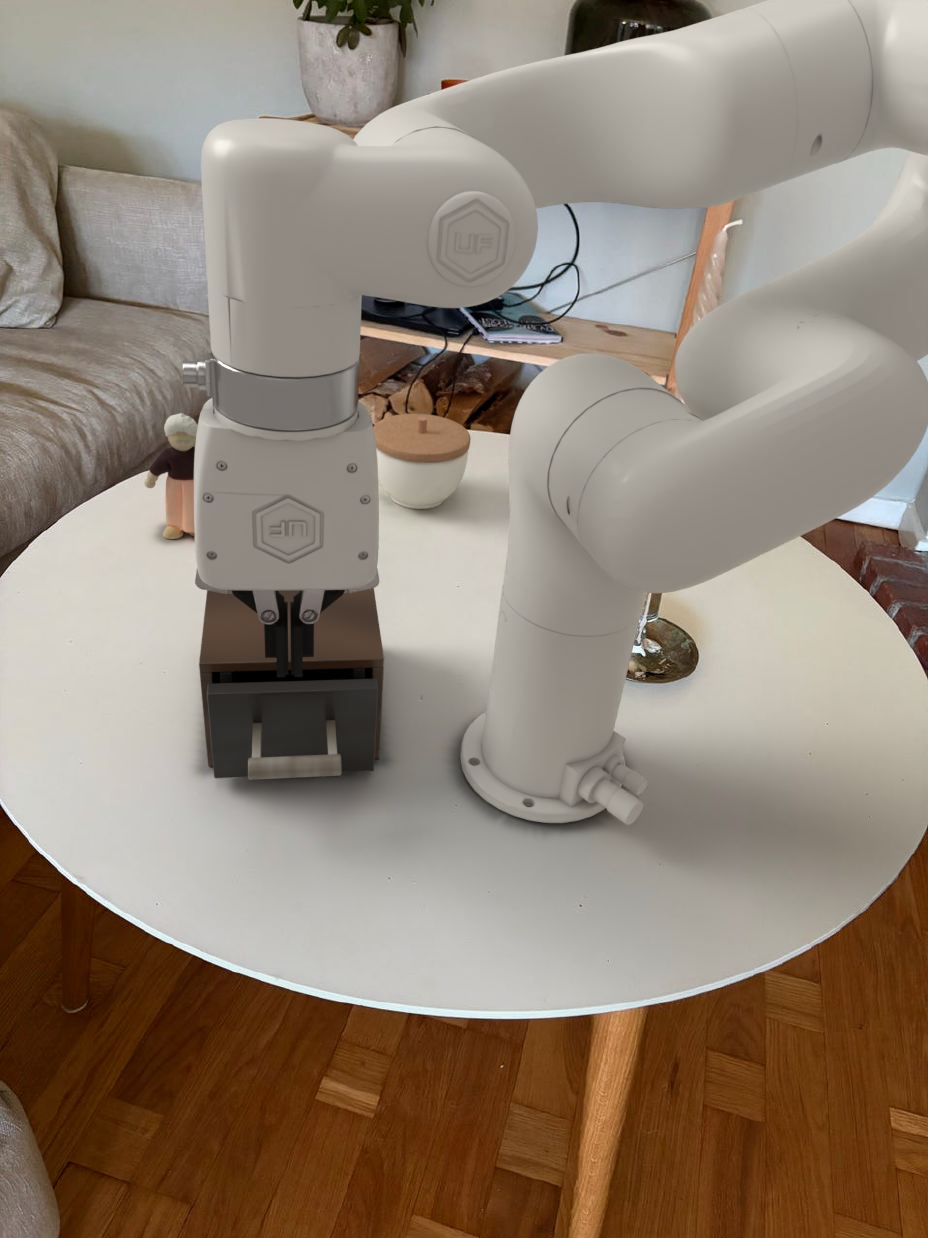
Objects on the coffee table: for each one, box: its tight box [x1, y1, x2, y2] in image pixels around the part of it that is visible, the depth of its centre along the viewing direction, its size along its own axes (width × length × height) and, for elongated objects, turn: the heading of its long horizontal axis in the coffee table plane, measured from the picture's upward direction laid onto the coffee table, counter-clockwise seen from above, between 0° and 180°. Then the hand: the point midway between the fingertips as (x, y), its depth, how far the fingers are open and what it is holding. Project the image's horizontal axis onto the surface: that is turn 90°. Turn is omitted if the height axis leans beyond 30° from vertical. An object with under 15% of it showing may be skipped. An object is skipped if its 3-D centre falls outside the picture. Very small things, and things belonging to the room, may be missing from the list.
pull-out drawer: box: [207, 668, 378, 781], centre depth 70 cm, size 18×11×8 cm, turn 9°
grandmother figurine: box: [144, 412, 198, 540], centre depth 94 cm, size 8×4×13 cm, turn 122°
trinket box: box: [373, 413, 472, 510], centre depth 105 cm, size 11×11×9 cm
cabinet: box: [198, 588, 385, 767], centre depth 75 cm, size 15×13×10 cm
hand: (289, 663), depth 61 cm, fingers closed
